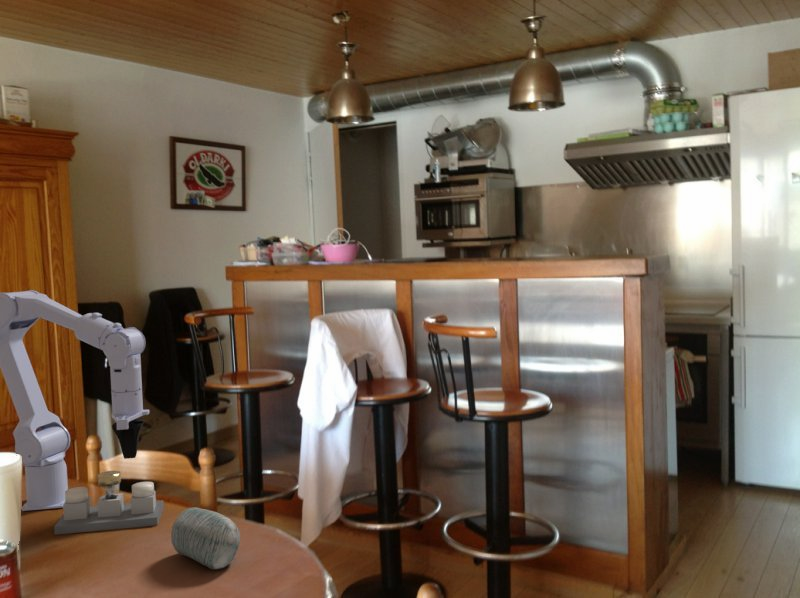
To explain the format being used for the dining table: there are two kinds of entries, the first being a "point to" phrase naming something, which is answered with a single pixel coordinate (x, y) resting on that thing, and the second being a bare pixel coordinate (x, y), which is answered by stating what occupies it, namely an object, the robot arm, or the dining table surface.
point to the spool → (205, 537)
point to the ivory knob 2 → (142, 489)
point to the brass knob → (109, 482)
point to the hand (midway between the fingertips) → (130, 457)
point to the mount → (109, 514)
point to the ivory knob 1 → (76, 495)
